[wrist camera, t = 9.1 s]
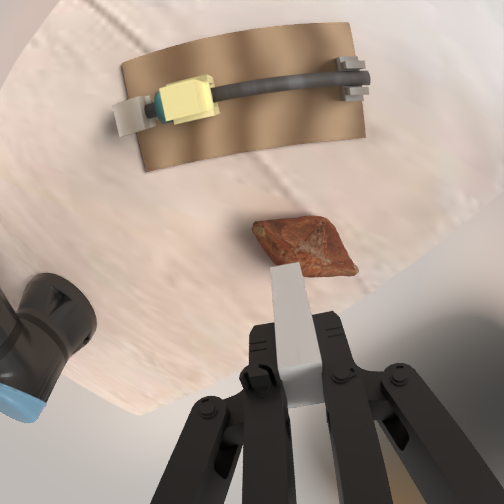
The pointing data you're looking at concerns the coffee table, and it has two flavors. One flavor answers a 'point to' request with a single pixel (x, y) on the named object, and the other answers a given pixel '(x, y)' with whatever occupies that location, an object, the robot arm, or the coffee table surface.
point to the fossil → (305, 245)
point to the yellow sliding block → (189, 99)
